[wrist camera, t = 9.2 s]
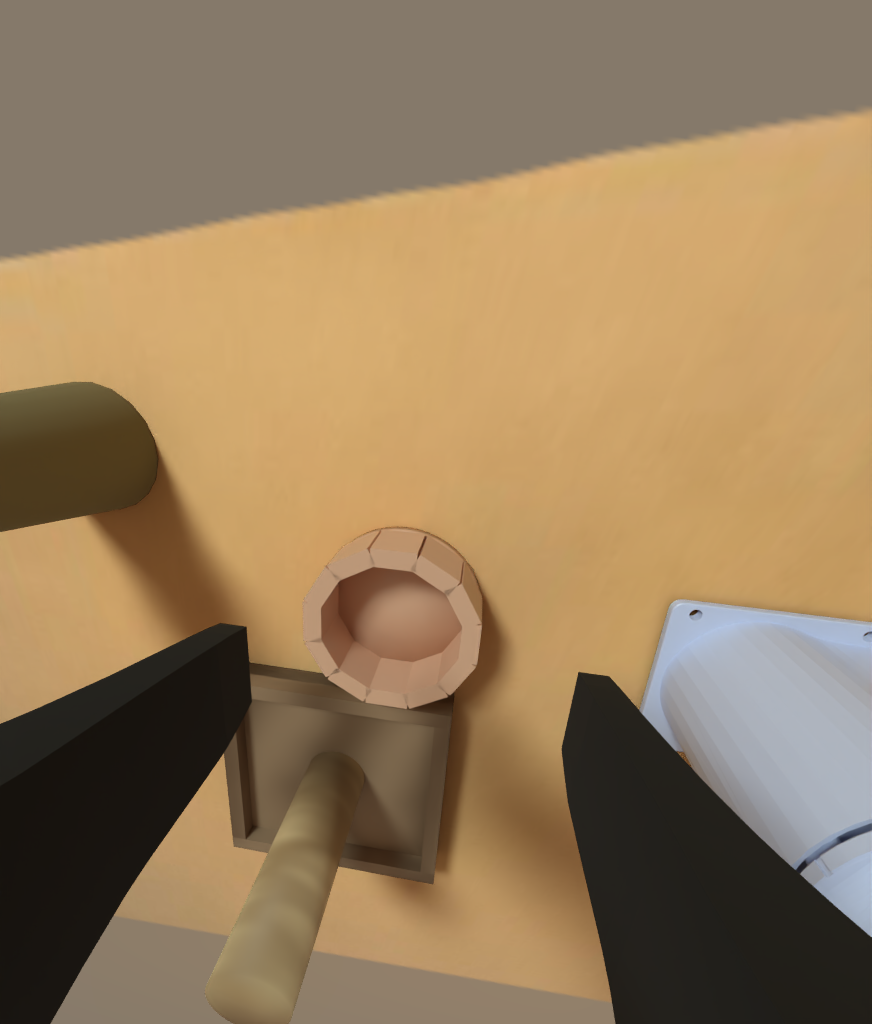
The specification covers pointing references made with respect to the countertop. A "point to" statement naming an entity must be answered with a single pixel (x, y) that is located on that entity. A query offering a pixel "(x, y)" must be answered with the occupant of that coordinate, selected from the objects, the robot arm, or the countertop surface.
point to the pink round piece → (395, 618)
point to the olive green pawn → (71, 454)
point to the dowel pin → (288, 899)
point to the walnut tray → (362, 736)
